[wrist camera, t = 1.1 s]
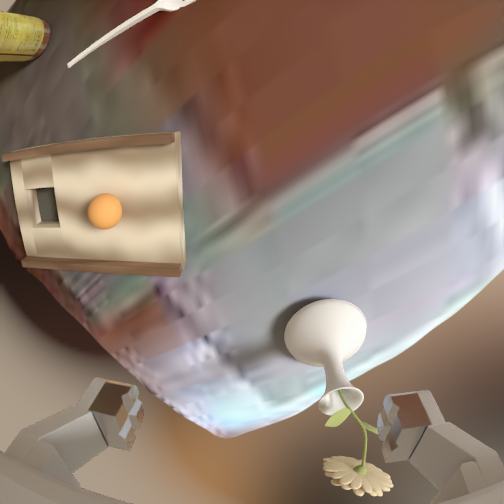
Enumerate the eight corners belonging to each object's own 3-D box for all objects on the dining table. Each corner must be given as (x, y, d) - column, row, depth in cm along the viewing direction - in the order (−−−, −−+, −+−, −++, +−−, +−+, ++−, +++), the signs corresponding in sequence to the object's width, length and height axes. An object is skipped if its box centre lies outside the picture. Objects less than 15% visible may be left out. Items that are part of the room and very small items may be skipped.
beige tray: (20, 149, 34) (1, 154, 31) (180, 131, 34) (170, 133, 30) (37, 254, 41) (22, 266, 37) (186, 261, 40) (179, 277, 37)
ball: (95, 190, 34) (79, 199, 31) (125, 188, 34) (111, 198, 30) (99, 222, 36) (84, 234, 32) (129, 222, 36) (115, 235, 32)
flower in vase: (266, 327, 44) (264, 498, 21) (330, 276, 40) (384, 448, 18) (324, 372, 48) (347, 519, 25) (384, 330, 44) (441, 477, 21)
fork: (66, 57, 30) (58, 56, 28) (207, -27, 26) (203, -33, 24) (74, 76, 31) (66, 76, 30) (217, -8, 27) (215, -13, 25)
